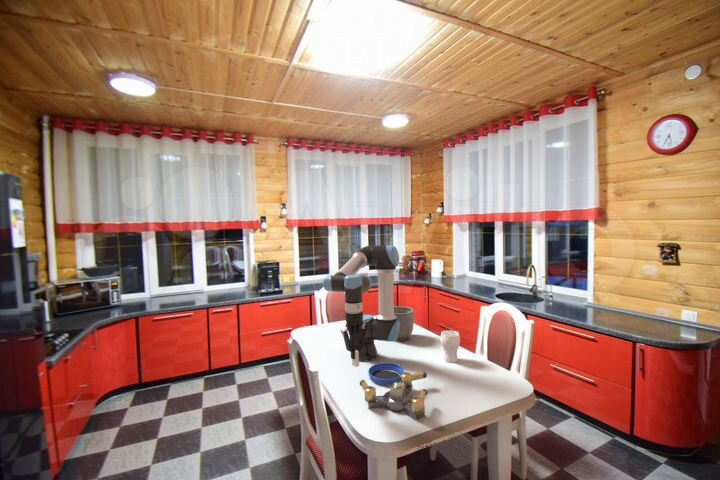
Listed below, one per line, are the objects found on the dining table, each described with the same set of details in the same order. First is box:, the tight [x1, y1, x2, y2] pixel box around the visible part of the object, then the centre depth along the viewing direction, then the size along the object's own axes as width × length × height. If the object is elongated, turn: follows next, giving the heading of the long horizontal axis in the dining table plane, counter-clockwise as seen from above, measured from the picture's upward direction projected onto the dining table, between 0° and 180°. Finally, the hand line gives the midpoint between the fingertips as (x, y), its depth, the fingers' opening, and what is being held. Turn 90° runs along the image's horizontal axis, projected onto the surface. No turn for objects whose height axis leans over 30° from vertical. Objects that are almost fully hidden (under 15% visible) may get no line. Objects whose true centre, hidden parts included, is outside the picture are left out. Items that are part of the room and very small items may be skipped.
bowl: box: [368, 362, 405, 386], centre depth 158 cm, size 18×18×4 cm
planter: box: [394, 305, 415, 341], centre depth 211 cm, size 20×20×19 cm
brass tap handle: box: [400, 371, 428, 387], centre depth 147 cm, size 13×5×4 cm, turn 109°
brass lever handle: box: [412, 388, 428, 414], centre depth 128 cm, size 13×5×4 cm, turn 154°
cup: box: [439, 330, 461, 364], centre depth 176 cm, size 11×11×15 cm
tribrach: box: [367, 382, 426, 421], centre depth 136 cm, size 25×22×9 cm
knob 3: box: [359, 379, 377, 403], centre depth 137 cm, size 13×5×4 cm, turn 19°
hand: (355, 365), depth 136 cm, fingers closed
